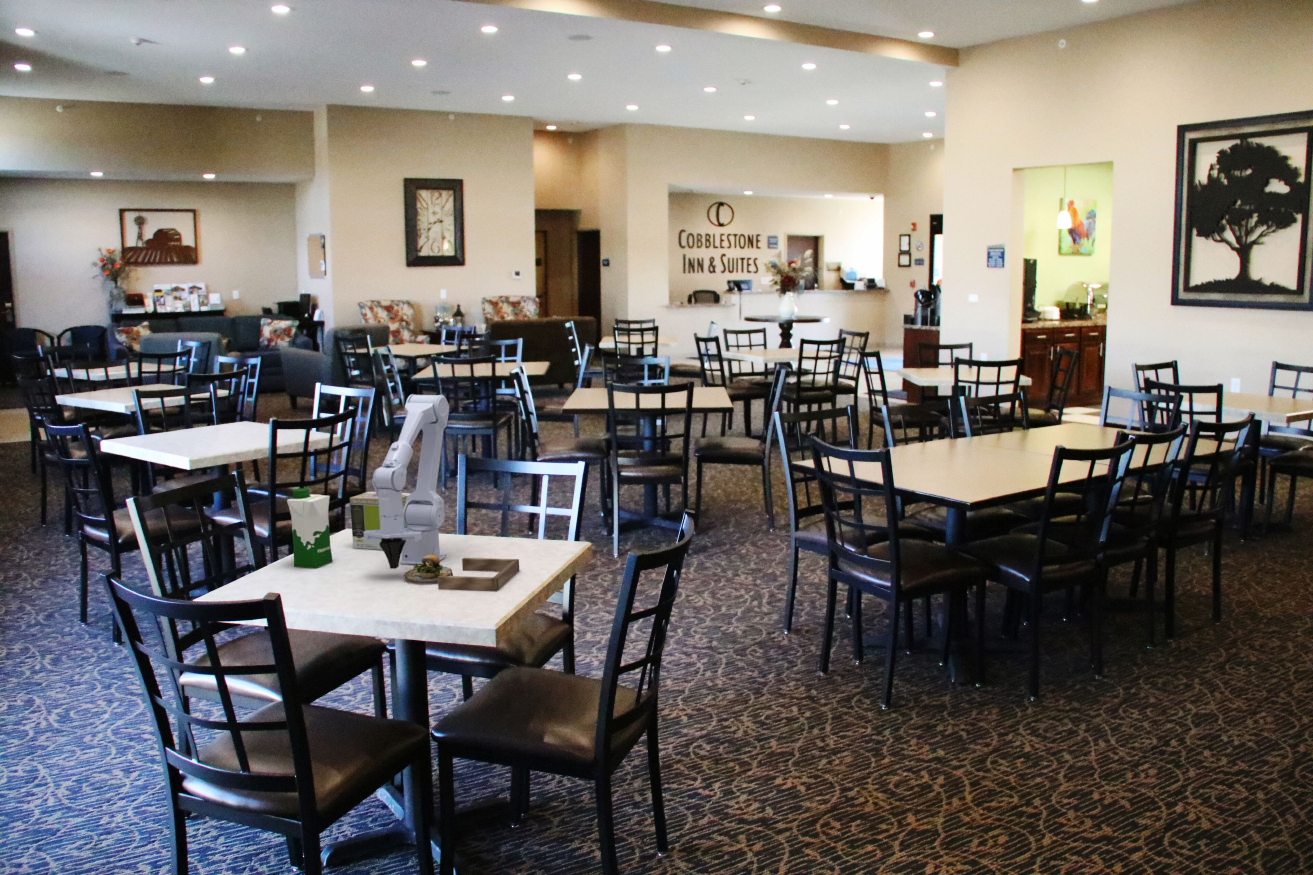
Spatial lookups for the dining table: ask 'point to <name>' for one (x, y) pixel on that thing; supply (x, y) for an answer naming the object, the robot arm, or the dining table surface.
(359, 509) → the tea box
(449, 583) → the open wooden frame
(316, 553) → the milk carton
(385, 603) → the dining table surface
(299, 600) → the dining table surface
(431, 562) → the burger
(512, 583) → the dining table surface
